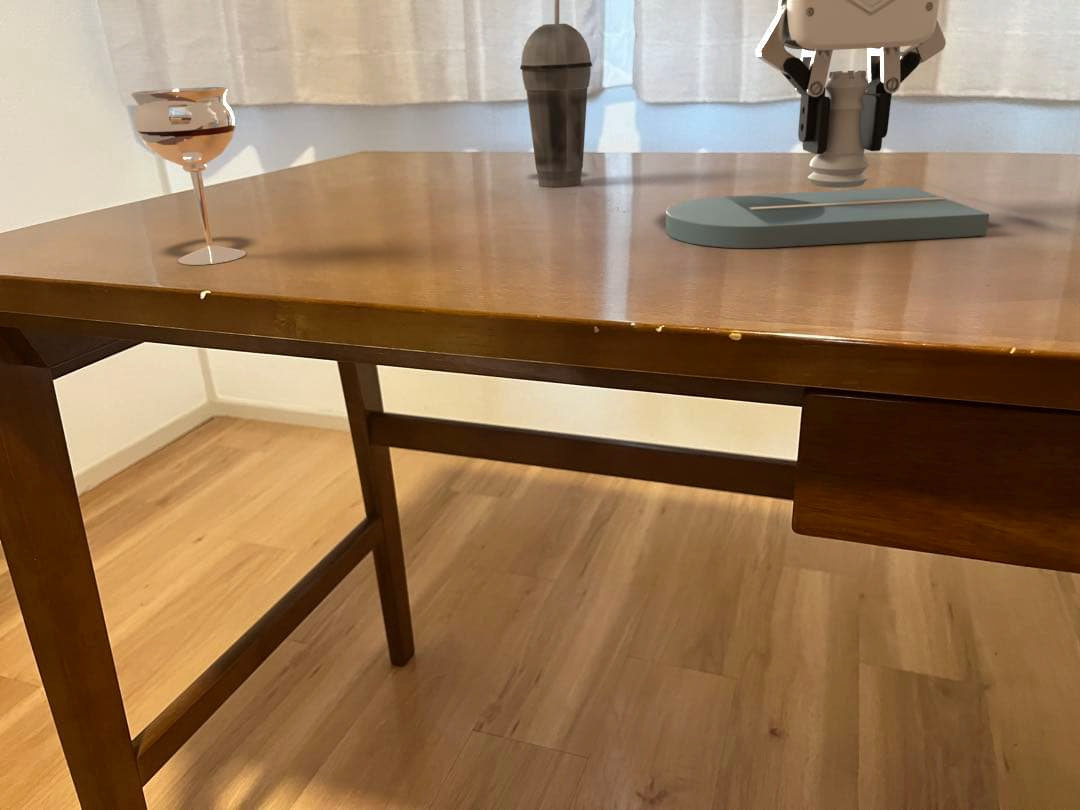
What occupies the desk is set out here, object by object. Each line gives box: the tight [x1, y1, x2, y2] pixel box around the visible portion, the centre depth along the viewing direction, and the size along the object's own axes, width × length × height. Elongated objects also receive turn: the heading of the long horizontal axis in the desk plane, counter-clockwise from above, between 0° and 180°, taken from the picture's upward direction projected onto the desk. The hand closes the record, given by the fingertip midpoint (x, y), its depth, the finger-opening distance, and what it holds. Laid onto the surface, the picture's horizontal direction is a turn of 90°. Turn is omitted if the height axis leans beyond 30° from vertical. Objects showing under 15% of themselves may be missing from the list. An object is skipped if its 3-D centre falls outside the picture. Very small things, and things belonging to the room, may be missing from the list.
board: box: [665, 186, 990, 249], centre depth 66 cm, size 22×12×2 cm, turn 94°
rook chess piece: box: [807, 70, 870, 189], centre depth 64 cm, size 4×4×8 cm
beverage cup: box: [519, 0, 593, 188], centre depth 87 cm, size 7×7×20 cm
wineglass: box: [128, 86, 247, 266], centre depth 63 cm, size 7×7×12 cm
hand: (840, 147), depth 64 cm, fingers closed on rook chess piece, 3 cm apart
